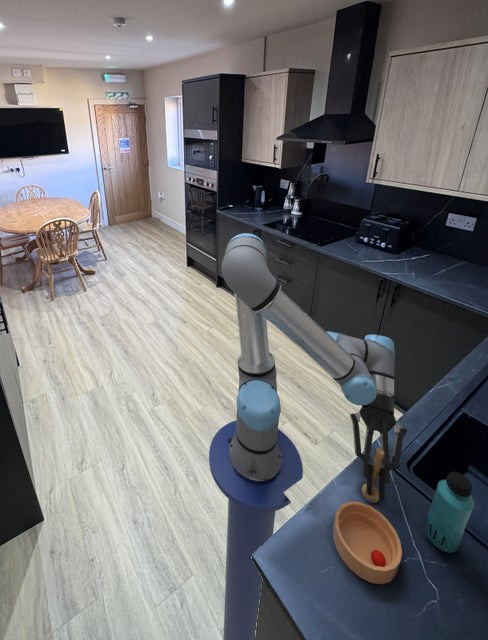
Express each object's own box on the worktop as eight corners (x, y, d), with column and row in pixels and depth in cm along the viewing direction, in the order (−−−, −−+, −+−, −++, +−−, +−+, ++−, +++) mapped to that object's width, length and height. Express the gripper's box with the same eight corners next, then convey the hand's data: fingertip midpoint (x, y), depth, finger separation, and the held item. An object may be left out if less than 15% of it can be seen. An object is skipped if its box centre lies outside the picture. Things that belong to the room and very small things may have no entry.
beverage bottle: (455, 536, 75) (478, 474, 69) (458, 566, 70) (483, 502, 63) (421, 518, 78) (440, 458, 72) (422, 546, 73) (442, 484, 67)
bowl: (320, 535, 75) (323, 521, 74) (354, 504, 81) (357, 490, 80) (374, 601, 65) (379, 586, 63) (409, 560, 71) (414, 545, 69)
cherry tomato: (389, 570, 68) (379, 558, 71) (388, 556, 69) (378, 544, 71) (378, 573, 68) (368, 561, 70) (377, 559, 68) (367, 547, 71)
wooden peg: (358, 489, 85) (367, 446, 80) (369, 484, 86) (379, 441, 81) (371, 505, 81) (381, 461, 77) (382, 499, 83) (393, 455, 78)
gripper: (406, 402, 88) (407, 505, 79) (345, 387, 94) (339, 481, 85) (414, 401, 82) (416, 513, 73) (349, 385, 88) (343, 487, 78)
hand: (375, 496), depth 79 cm, fingers open, 2 cm apart
